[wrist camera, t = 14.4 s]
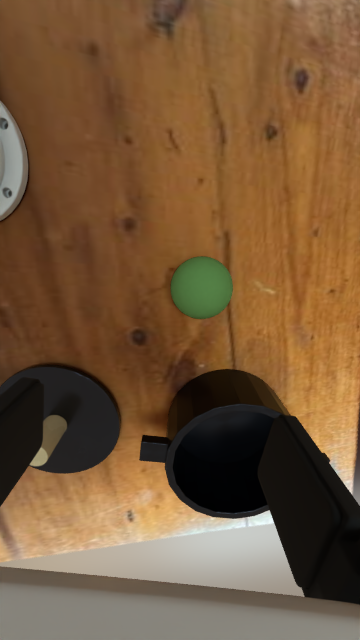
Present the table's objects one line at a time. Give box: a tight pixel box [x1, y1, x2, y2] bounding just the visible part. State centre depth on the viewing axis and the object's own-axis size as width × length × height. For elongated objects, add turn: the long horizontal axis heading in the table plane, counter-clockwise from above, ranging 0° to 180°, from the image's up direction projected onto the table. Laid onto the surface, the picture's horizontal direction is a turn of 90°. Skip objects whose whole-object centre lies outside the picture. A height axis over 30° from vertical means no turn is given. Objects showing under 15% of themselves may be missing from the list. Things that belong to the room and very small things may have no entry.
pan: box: [139, 369, 330, 519], centre depth 28 cm, size 15×20×7 cm
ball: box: [171, 256, 233, 319], centre depth 24 cm, size 6×6×6 cm
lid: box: [0, 365, 120, 474], centre depth 28 cm, size 16×16×6 cm
